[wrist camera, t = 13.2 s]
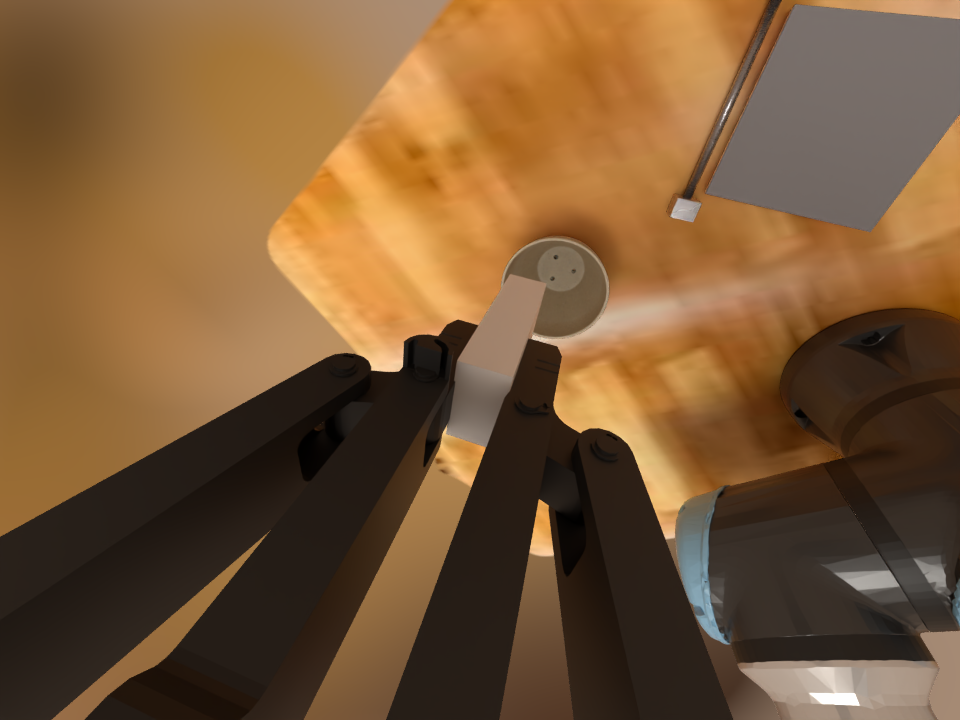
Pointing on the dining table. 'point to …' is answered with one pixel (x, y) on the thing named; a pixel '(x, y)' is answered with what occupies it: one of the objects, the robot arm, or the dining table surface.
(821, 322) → the dining table surface
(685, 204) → the hinge bracket
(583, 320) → the flower pot
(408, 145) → the dining table surface
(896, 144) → the tile
